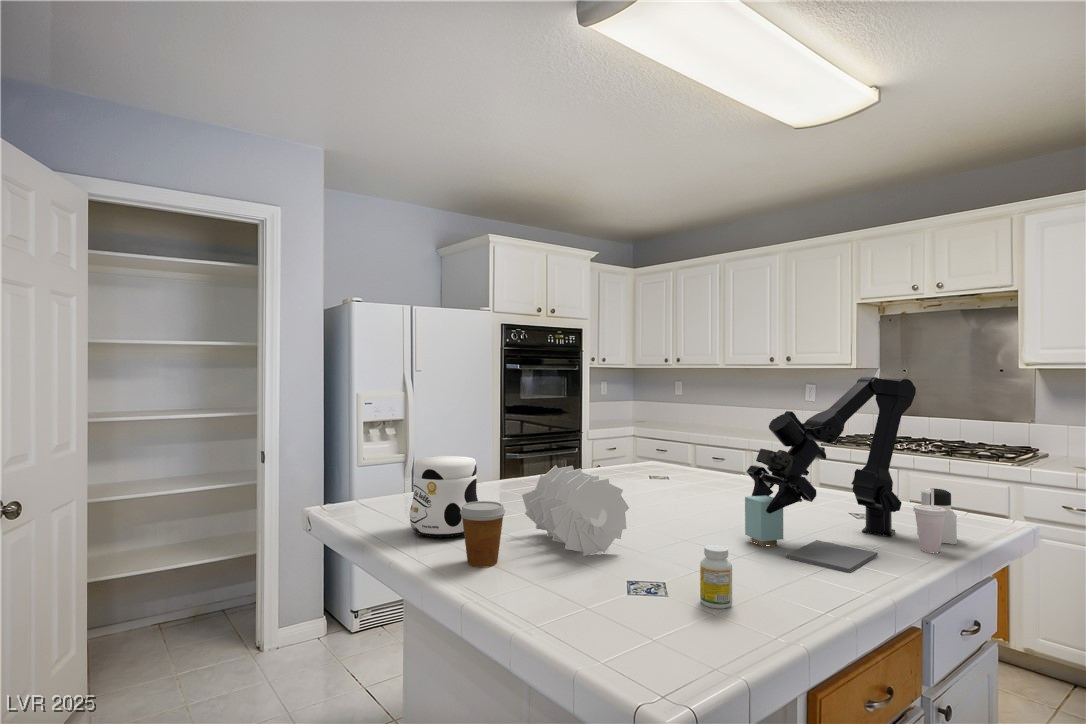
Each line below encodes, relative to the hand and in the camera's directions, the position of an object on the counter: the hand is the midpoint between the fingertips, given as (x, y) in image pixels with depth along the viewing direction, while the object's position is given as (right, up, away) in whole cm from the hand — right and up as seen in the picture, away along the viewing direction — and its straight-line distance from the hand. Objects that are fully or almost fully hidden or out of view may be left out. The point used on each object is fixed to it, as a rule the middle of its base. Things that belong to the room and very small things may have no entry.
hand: (758, 509), depth 141 cm
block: (+1, -8, 0) cm, 8 cm away
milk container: (-75, -8, +9) cm, 76 cm away
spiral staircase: (-43, -8, -1) cm, 44 cm away
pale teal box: (+1, -7, 0) cm, 7 cm away
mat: (+12, -8, -10) cm, 18 cm away
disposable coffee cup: (-63, -8, -14) cm, 65 cm away
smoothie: (+37, -8, -5) cm, 38 cm away
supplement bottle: (-20, -8, -36) cm, 42 cm away
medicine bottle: (+44, -8, +4) cm, 45 cm away
